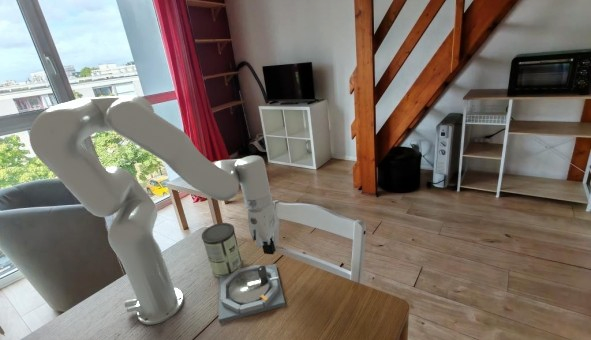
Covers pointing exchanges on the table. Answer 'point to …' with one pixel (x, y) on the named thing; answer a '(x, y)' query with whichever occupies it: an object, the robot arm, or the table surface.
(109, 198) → the robot arm
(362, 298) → the table surface
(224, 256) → the coffee can
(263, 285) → the dial
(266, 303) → the panel
